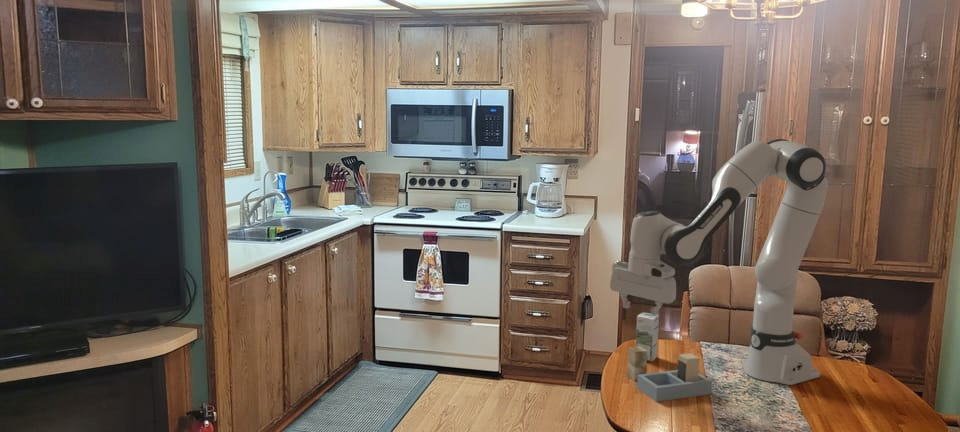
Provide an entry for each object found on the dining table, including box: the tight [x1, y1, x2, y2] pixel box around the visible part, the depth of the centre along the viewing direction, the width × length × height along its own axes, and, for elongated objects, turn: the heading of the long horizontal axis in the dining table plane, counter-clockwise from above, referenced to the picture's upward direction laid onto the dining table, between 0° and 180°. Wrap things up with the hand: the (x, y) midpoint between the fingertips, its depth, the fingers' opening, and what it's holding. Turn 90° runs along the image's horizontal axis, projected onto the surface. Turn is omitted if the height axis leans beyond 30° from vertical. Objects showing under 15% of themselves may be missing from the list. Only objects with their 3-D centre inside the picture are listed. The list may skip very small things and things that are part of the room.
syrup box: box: [635, 312, 660, 362], centre depth 221 cm, size 6×6×14 cm
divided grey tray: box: [636, 352, 713, 403], centre depth 195 cm, size 18×10×10 cm, turn 108°
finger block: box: [626, 346, 648, 382], centre depth 205 cm, size 4×4×9 cm
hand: (640, 311), depth 202 cm, fingers open, 8 cm apart
